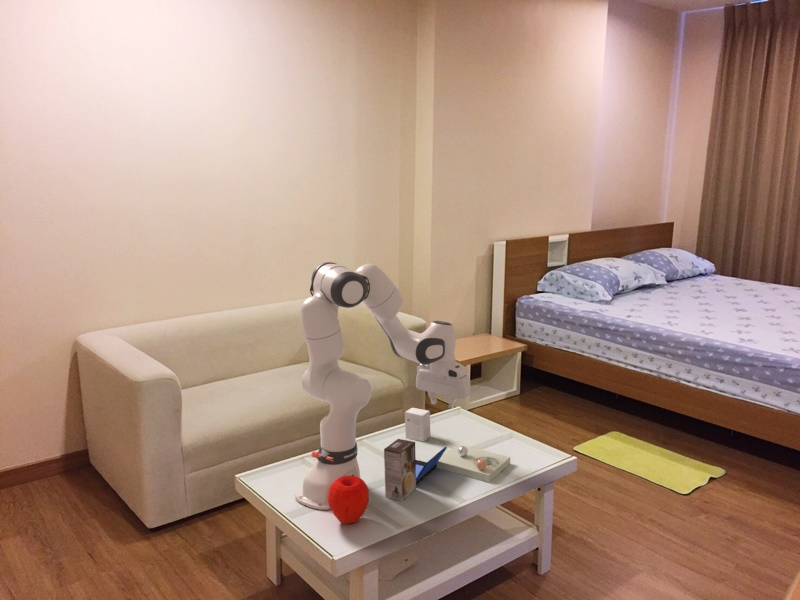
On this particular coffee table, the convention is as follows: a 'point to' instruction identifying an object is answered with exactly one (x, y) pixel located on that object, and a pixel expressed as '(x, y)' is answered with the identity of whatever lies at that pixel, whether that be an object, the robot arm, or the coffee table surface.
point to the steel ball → (462, 451)
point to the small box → (417, 424)
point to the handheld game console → (427, 466)
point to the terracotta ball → (481, 464)
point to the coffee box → (400, 469)
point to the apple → (348, 498)
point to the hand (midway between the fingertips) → (442, 405)
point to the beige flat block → (473, 463)
